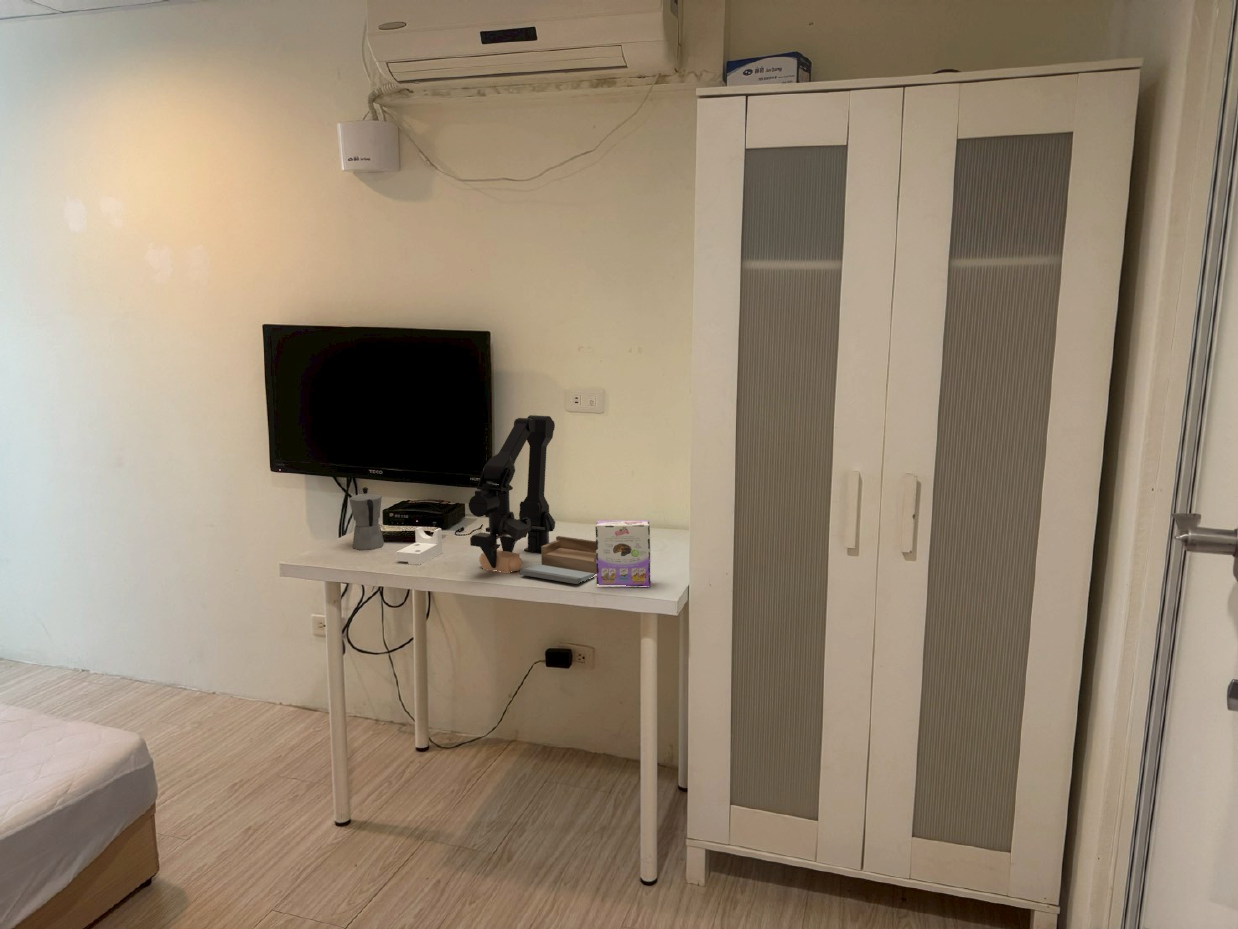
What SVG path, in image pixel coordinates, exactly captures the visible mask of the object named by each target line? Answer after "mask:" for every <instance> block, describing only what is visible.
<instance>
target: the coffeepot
mask: <svg viewBox="0 0 1238 929" xmlns="http://www.w3.org/2000/svg"><path fill="white" fill-rule="evenodd" d="M368 490H369V488H368V487H367V486H366V487H362V493H360V494H359V493H358V494H356V495H353V496H351V497H350V498H349V504H350V508H351V513H352V518H353V521H354V522H355V525H354V531H353V540H352V548H353V549H355V550H358V551H371V550H377V549H380V548H382V547H383V546H384V545H385V541H384V536H383V532H382V529H381V525H380V520H379V519H380V517H381V508H382V497H383V496H382V495H379V494H375V493H368Z"/></svg>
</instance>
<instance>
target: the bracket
mask: <svg viewBox="0 0 1238 929" xmlns="http://www.w3.org/2000/svg"><path fill="white" fill-rule="evenodd" d="M414 533H415V542H413V543H412V544H410V545H407V546H406V547H404V548H401V549H399V550H397V551H396V561H397V562H406V563H408V565H412V564H418V565H417V566H421V565H422V564H421V563H423V562H424V563H426V562H428V561H431V559H434V558H435V556H436V557H438V556H439V555H441V554H443V534H442V528H440V527H439V528H437V529H434V530H433V535H432V536H431V535H428V534H427V533H425V531H424V527H423V526H419V527H417V528H415V529H414ZM437 555H438V556H437ZM427 560H428V561H427ZM425 561H426V562H425ZM424 563H423V564H424ZM420 564H421V565H420Z"/></svg>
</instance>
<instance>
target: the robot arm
mask: <svg viewBox="0 0 1238 929" xmlns="http://www.w3.org/2000/svg"><path fill="white" fill-rule="evenodd" d="M555 426H556V425H555V421H554V420H553V418H552V417H551V416H549V415H536V414H535V415H534V414H530V415H528V416H527V417H518V418H516V419H514V421H513V426H512V428H511V430H510V432H509V434H508V436H507V438H506V439H505V441H504V443H503V444H502V447H501V448H500V450H499V452H498V453H497V454H494V456H492V457H490V458H489V460H488V461H487V462H486V464H485V465H484V467H483V469H482V472H481V474H480V476H479V480H478V483H477V485H476V486H477V487H476V490H474V495H473V496H471V497H470V498H469V501H468V509H469V511H470V512H471V514H472V515H473V516H475V517H477V518H481V517H485V518H488V527H485V532H478V533H475V534H473V535H472V536H471V537H470V538H469V542H470V544H469V545H470V546H471V547H477V548H480V549H481V551H482V553H483V552H484V554H485V556H486V558H487V559H488V561H489V563H490V565H491V567H492V568H496V560H497V550H498V549H499V548H500V547H501V549H502V550H501V551H507V552H513V551H514V548H515V545H516V543H517V542H518V541H520V540H521V539H523V538H526V537H527V547H526V548H524V549H523V552H529V553H537V554H541V546H544V545H546V544H548V543H550V532H554V530H555V528H556V521H555V519H554V518H553V516H552V515H551V513H550V504H549V503H548V501H547V499H546V497H545V489H546V488H545V486H546V485H545V483H546V469H547V468H546V466H547V447H548V445H549V444H550V442H551V441H552V439H553V437H554V431H555ZM526 442H527V444H528V445H529V451H528V452H529V453H528V470H527V471H528V473H527V490H526V491H527V493H526V497H525V498H524V499H523V501H520V503H519V513H518V518H519V519H517V518H515V514H514V511H510V507H511V505H510V491H512V490H513V489H514V488H513V486H512V485H511V482H512V480H513V478H514V474H515V473H516V467H515V462H516V461H517V458H518V457H519V455H520V453H521V452H522V449H523V448H524V446H525V444H526ZM498 539H499V540H500V544H498V541H497V540H498ZM513 553H514V552H513Z"/></svg>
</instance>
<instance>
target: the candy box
mask: <svg viewBox="0 0 1238 929" xmlns="http://www.w3.org/2000/svg"><path fill="white" fill-rule="evenodd" d="M595 523H596V524H595V526H594V528H595V529H594V530H595V541H596V574H597V576H596V584H599V585H626V586H650V587H651V527H650V526H651V525H650V520H649V519H648V520H647V519H646V520H644V519H643V520H641V519H640V520H596V522H595Z"/></svg>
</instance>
